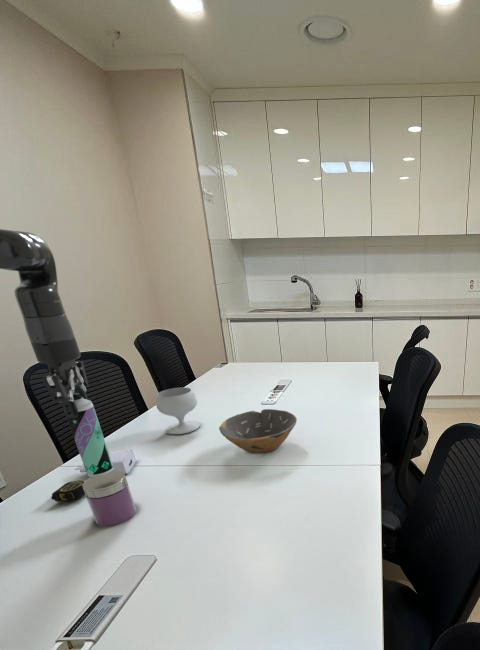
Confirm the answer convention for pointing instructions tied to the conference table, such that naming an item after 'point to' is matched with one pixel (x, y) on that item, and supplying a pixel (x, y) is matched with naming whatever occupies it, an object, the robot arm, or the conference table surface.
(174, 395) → the chalice
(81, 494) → the tape measure
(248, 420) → the bowl
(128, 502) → the jar
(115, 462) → the charger
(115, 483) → the jar lid
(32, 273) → the robot arm
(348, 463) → the conference table surface
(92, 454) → the spray can
